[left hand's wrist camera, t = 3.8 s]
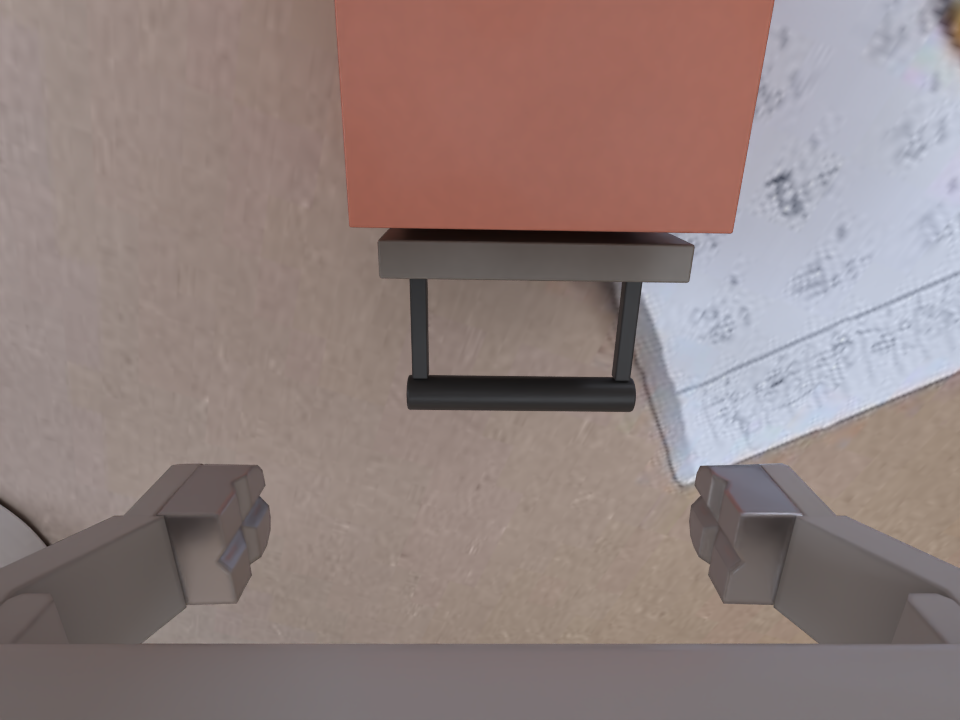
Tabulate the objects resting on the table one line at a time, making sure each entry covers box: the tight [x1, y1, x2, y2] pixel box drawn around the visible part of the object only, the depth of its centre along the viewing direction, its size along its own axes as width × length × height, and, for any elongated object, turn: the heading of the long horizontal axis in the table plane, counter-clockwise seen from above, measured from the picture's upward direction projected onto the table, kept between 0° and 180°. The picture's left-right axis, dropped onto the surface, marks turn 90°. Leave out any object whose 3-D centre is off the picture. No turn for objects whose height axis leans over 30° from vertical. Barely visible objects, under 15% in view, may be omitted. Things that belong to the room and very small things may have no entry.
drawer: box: [378, 228, 695, 412], centre depth 20 cm, size 22×10×9 cm, turn 179°
